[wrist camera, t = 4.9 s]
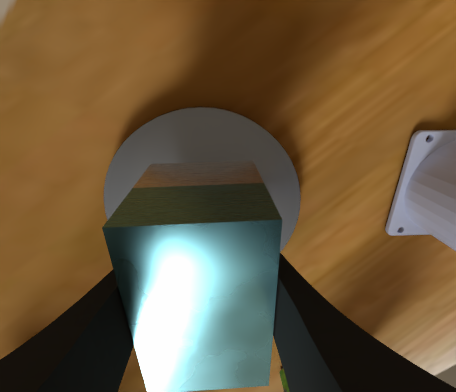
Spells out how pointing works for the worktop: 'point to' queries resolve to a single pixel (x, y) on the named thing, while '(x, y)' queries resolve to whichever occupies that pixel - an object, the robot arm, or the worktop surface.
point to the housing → (198, 274)
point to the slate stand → (206, 155)
